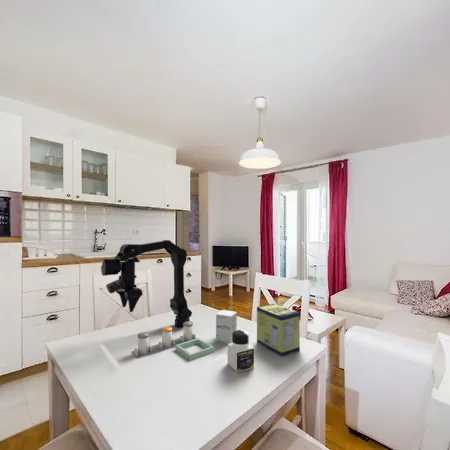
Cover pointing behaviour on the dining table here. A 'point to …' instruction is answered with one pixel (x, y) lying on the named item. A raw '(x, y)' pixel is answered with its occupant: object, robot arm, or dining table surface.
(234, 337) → the medicine bottle
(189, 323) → the block
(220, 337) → the supplement box
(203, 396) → the dining table surface
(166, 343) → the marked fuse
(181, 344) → the tray
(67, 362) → the dining table surface
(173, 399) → the dining table surface
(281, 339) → the protein box
